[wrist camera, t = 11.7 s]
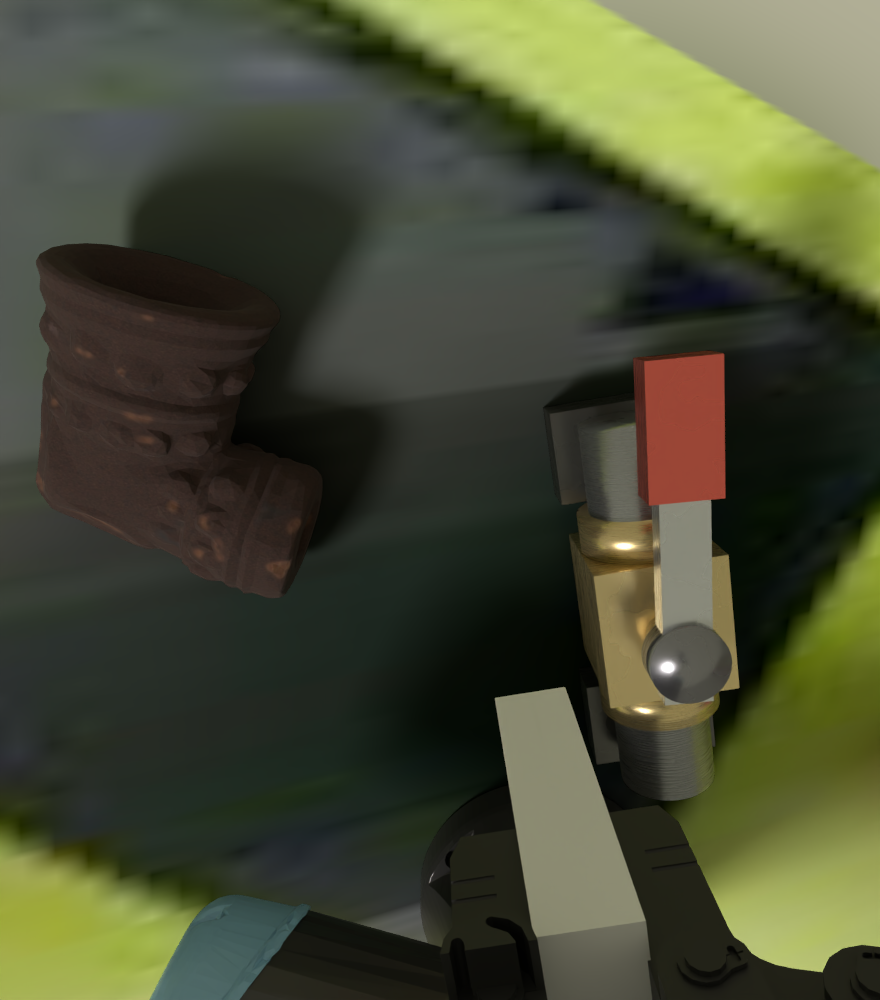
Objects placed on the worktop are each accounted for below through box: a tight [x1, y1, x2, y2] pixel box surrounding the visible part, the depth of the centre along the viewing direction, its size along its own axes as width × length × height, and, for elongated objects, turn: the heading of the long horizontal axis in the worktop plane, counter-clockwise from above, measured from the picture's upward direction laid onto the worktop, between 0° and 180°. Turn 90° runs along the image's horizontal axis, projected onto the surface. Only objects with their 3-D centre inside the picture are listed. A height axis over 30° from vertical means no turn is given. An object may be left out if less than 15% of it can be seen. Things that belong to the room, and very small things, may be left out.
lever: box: [633, 350, 732, 706], centre depth 35 cm, size 16×4×2 cm, turn 6°
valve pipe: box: [543, 392, 739, 801], centre depth 43 cm, size 21×7×10 cm, turn 10°
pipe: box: [36, 243, 323, 598], centre depth 42 cm, size 10×15×15 cm
